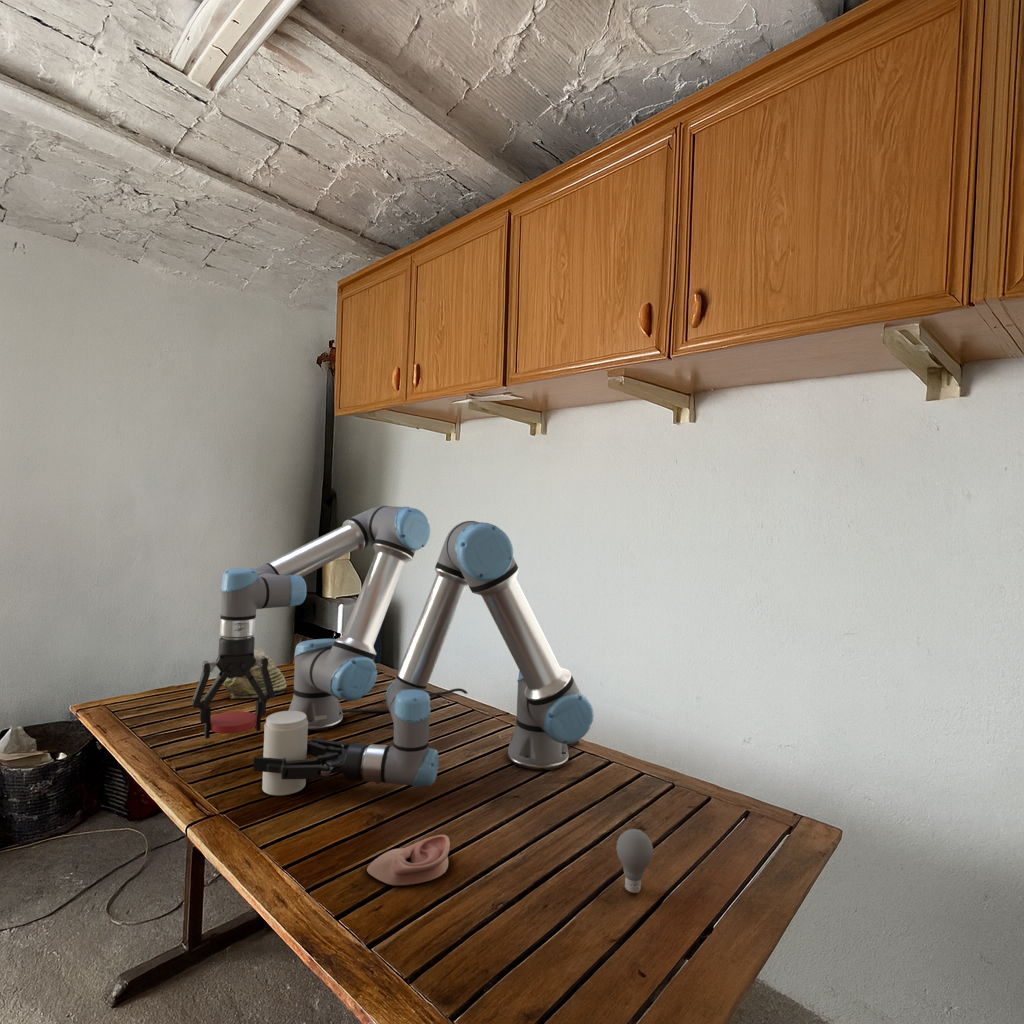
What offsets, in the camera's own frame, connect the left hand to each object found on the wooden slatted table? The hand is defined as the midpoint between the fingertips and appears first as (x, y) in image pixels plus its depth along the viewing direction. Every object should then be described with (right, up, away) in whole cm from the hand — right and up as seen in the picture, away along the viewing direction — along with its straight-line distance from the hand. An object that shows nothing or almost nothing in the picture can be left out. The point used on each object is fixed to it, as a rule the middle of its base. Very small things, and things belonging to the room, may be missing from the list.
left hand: (232, 732), depth 146 cm
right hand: (+10, -2, -7) cm, 13 cm away
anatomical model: (+46, -11, -36) cm, 60 cm away
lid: (0, +3, 0) cm, 3 cm away
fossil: (-16, -6, +52) cm, 55 cm away
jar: (+15, -9, -8) cm, 19 cm away
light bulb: (+84, -13, -40) cm, 94 cm away
